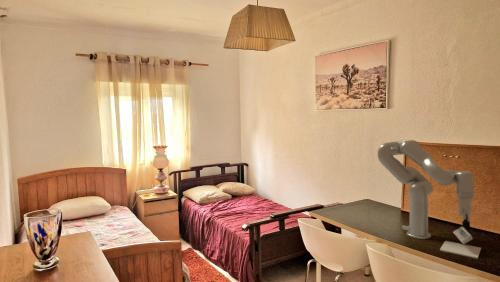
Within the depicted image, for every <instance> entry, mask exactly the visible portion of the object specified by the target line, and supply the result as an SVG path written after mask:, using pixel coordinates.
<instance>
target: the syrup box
mask: <svg viewBox="0 0 500 282" xmlns="http://www.w3.org/2000/svg"><path fill="white" fill-rule="evenodd" d="M452 232H453V234H454V236H455V237H456V238H457V239H458V240H459V241H460V242H461V244H464V245H467V243H468V242H470V241H472V240H473V239H474V238H473V237H472V235H471V233H469V232H468V230H467V229H465V228H464V227H463V226H460V227H459V228H457V229H455V230H454V231H452Z"/></svg>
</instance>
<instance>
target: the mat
mask: <svg viewBox="0 0 500 282" xmlns="http://www.w3.org/2000/svg"><path fill="white" fill-rule="evenodd" d="M481 250H482V247H478V246H473V245H468V244H463V243H459V242H454V241H449V240H445V241H444V242H443V244H442V245H441V247H440V249H439V251H440V252H444V253H451V254H455V255H460V256H462V257H463V256H464V257H467V258H468V257H469V258H473V259H478V258H479V256H480V252H481Z"/></svg>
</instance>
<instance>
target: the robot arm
mask: <svg viewBox="0 0 500 282" xmlns="http://www.w3.org/2000/svg"><path fill="white" fill-rule="evenodd" d="M378 147H379V148H378V150H377V158H378V161H379V162H380V164H381V165H382V166H383V167H384V168H385V169H387V170H388V172H389V173H390V174H391V175H392V176H393V177H394V178H395V179H396V180H397V181H398V182H399V183H400V184H403V185H407V184H408V185H410V186H409V187H408V199H409V225H401V229H402V230H403V231H405V230H406V235H407V236H408V237H411V238H414V239H419V240H420V239H421V240H427V239H431V238H432V236H431V235H432V234H431V233H430V232H429V201H428V196H430V194H432V192H433V185H432V183H431V182H430V180H429V179H427V177H425V176H424V175H423V174H422V173H421V172H420V171H419V170H417V169H416V168H415V167H412V166H405V165H404V164H403V163H402V162H401V161H399V159H397V158H396V157H395V156H399V155H401V156H402V155H405V156H406V158H408V159H410V160H411V161H413V162H414V163H416V164H417V165H418V166H419V167H420V168H421V169H422V170H423V172H425V173H426V175H427V176H428V177H430V178H431V179H433V180H434V181H435V182H437V183H438V184H440V185H441V186H450V185H452V184H456V198H458V216H459V217H462V221H461V222H462V223H461V225H462V226H463V227H464V228H465V229H466V230H470V229H471V220H470V217H471V215H472V199H474V197H475V192H474V191H475V190H474V174H473V172H472V171H469V170H453V169H443V168H442V167H441V166H439V165H438V164H437V163H436V162H435V161H434V158H433V156H432V155H431V154H430V153H429V152H427V151H426V150H424V148H421V145H420V143H419V141H417V140H414V139H410V140H409V139H408V140H403V141H402V140H400V141H399V140H398V141H391V142H385V143H382V144H381V145H380V146H378Z"/></svg>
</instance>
